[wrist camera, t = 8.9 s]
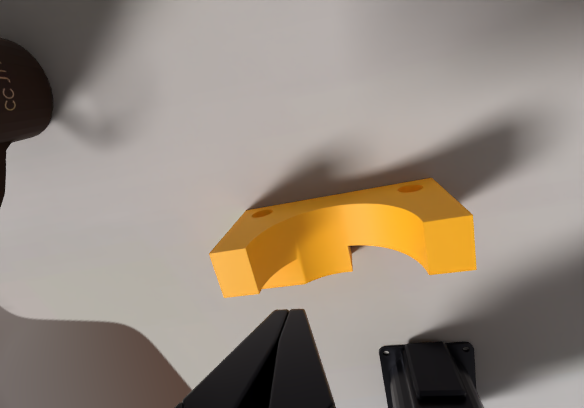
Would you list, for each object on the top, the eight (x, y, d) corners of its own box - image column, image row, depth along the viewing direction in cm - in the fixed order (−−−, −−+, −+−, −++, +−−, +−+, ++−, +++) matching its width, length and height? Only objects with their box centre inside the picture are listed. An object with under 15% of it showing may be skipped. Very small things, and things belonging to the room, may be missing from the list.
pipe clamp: (262, 264, 23) (233, 325, 17) (246, 209, 21) (209, 253, 15) (437, 241, 20) (478, 303, 14) (431, 177, 19) (472, 214, 13)
